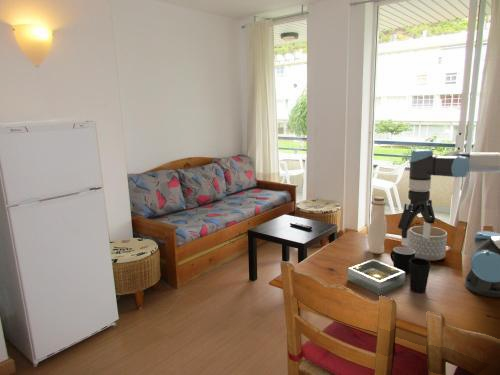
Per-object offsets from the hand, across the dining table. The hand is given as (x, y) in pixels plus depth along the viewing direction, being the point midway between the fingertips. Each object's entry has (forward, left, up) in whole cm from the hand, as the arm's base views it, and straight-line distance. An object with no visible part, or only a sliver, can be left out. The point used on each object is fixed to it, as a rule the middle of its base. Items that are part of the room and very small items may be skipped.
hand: (415, 241), depth 146 cm
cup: (-3, +1, -19) cm, 20 cm away
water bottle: (+34, -20, -19) cm, 44 cm away
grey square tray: (+11, +9, -19) cm, 24 cm away
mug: (+12, -9, -19) cm, 25 cm away
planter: (+15, -34, -19) cm, 42 cm away
